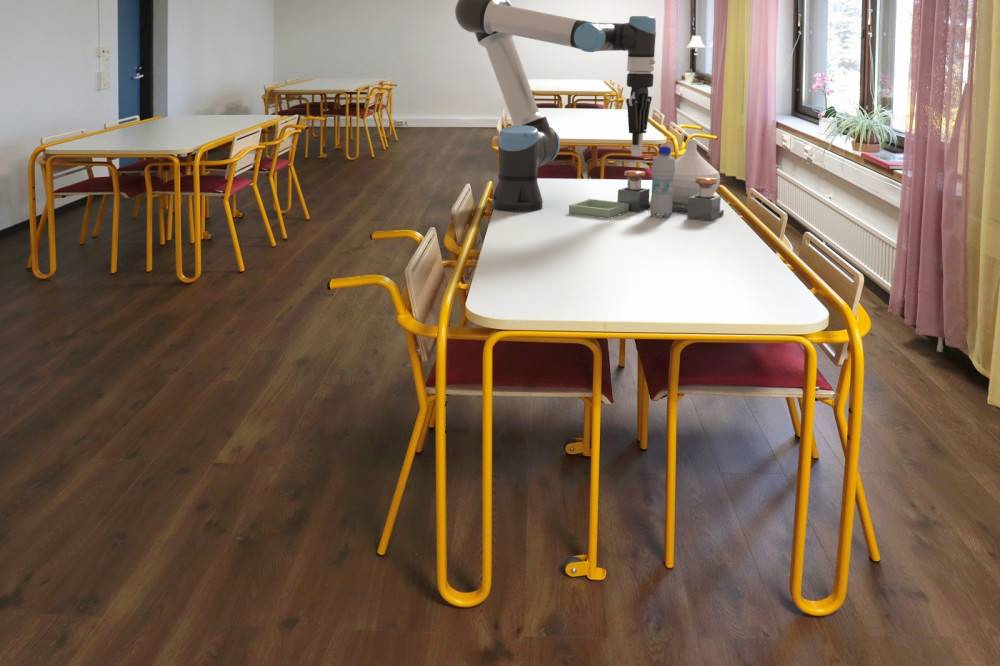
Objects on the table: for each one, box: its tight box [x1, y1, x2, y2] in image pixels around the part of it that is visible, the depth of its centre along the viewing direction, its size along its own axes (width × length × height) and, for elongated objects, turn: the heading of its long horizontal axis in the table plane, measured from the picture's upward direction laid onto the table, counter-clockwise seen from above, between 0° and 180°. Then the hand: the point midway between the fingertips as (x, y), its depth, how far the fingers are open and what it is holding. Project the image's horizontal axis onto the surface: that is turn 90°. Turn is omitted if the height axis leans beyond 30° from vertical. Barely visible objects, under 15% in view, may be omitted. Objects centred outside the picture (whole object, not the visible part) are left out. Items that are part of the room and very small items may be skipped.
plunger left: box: [624, 169, 646, 191], centre depth 288 cm, size 6×6×8 cm
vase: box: [672, 139, 721, 206], centre depth 299 cm, size 18×18×19 cm
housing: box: [617, 186, 724, 222], centre depth 285 cm, size 29×10×6 cm, turn 58°
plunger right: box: [695, 177, 717, 199], centre depth 276 cm, size 6×6×8 cm
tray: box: [568, 198, 629, 219], centre depth 284 cm, size 13×13×2 cm
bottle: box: [649, 145, 676, 219], centre depth 277 cm, size 7×7×20 cm
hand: (636, 155), depth 285 cm, fingers closed
